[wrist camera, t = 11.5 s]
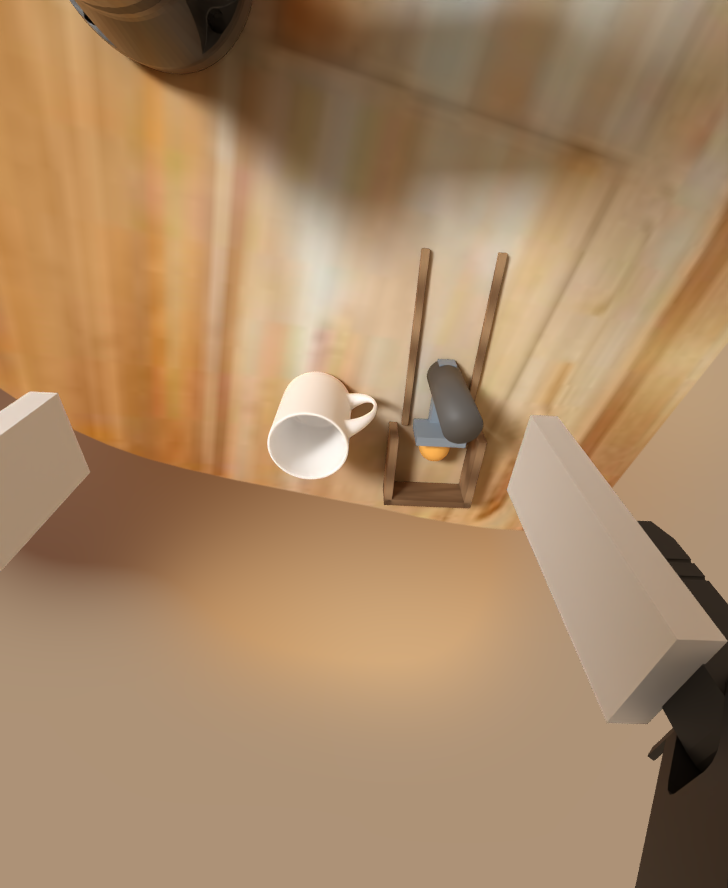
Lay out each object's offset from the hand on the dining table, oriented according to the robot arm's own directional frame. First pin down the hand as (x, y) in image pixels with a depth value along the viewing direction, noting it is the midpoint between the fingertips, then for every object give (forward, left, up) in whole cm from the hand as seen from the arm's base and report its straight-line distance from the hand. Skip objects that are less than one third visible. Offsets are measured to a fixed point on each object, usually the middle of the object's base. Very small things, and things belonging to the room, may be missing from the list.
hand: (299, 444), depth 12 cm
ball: (+23, +12, -35) cm, 43 cm away
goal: (+26, +12, -37) cm, 47 cm away
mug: (+18, -2, -37) cm, 41 cm away
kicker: (+16, +12, -36) cm, 42 cm away
